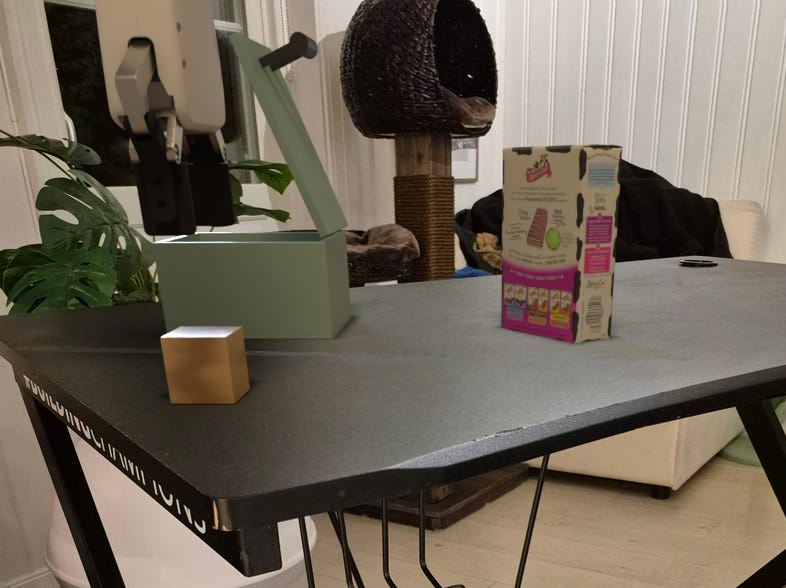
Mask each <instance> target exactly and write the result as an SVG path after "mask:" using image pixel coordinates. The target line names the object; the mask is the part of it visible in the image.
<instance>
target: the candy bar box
mask: <svg viewBox="0 0 786 588" xmlns="http://www.w3.org/2000/svg"><path fill="white" fill-rule="evenodd" d="M622 157H623V146H622V145H617V144H601V143H600V144H599V143H598V144H566V145H565V144H563V145H541V146H516V147H515V146H512V147H503V148H502V198H501V199H502V200H501V201H502V202H501V203H502V205H501V206H502V207H501V208H502V209H501V215H502V217H501V292H500V293H501V297H500V298H501V301H500V302H501V303H500V305H501V309H500V312H501V313H500V315H501V317H500V319H501V320H500V328H501V329H505V330H509V331H513V332H514V331H515V332H519V333H523V334H528V335H533V336H538V337H543V338H548V339H553V340H558V341H561V342H567V343H572V344H579V343H580V344H581V343H586V342H593V341H599V340H605V339H606V340H607V339H611V335H612V321H613V320H612V319H613V318H612V317H613V316H612V315H613V303H614V302H613V301H614V286H615V285H614V283H615V269H616V268H615V267H616V253H617V237H618V236H617V235H618V221H619V205H620V190H621V173H622V161H623V159H622Z"/></svg>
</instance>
